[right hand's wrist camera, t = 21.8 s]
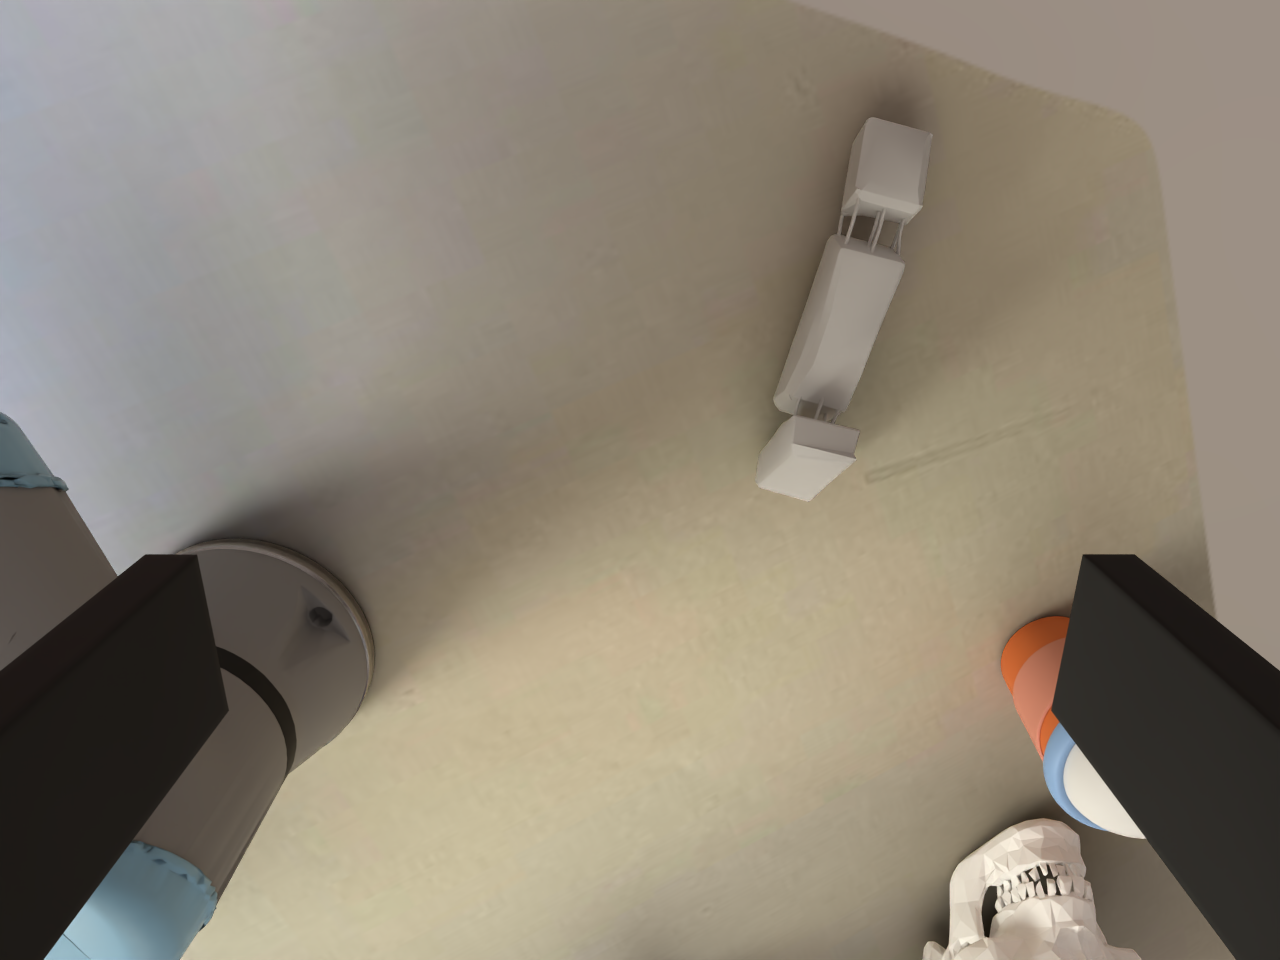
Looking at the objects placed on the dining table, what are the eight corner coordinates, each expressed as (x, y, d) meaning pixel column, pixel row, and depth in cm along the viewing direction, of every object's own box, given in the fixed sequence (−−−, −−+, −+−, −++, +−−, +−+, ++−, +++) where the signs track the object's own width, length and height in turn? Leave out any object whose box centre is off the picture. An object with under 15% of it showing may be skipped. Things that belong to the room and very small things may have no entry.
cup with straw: (1129, 590, 53) (1356, 790, 36) (1108, 712, 56) (1309, 948, 40) (982, 597, 53) (1141, 800, 36) (971, 718, 57) (1111, 956, 40)
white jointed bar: (808, 494, 50) (838, 531, 44) (747, 480, 50) (768, 515, 43) (914, 143, 45) (966, 125, 39) (848, 125, 45) (888, 104, 38)
